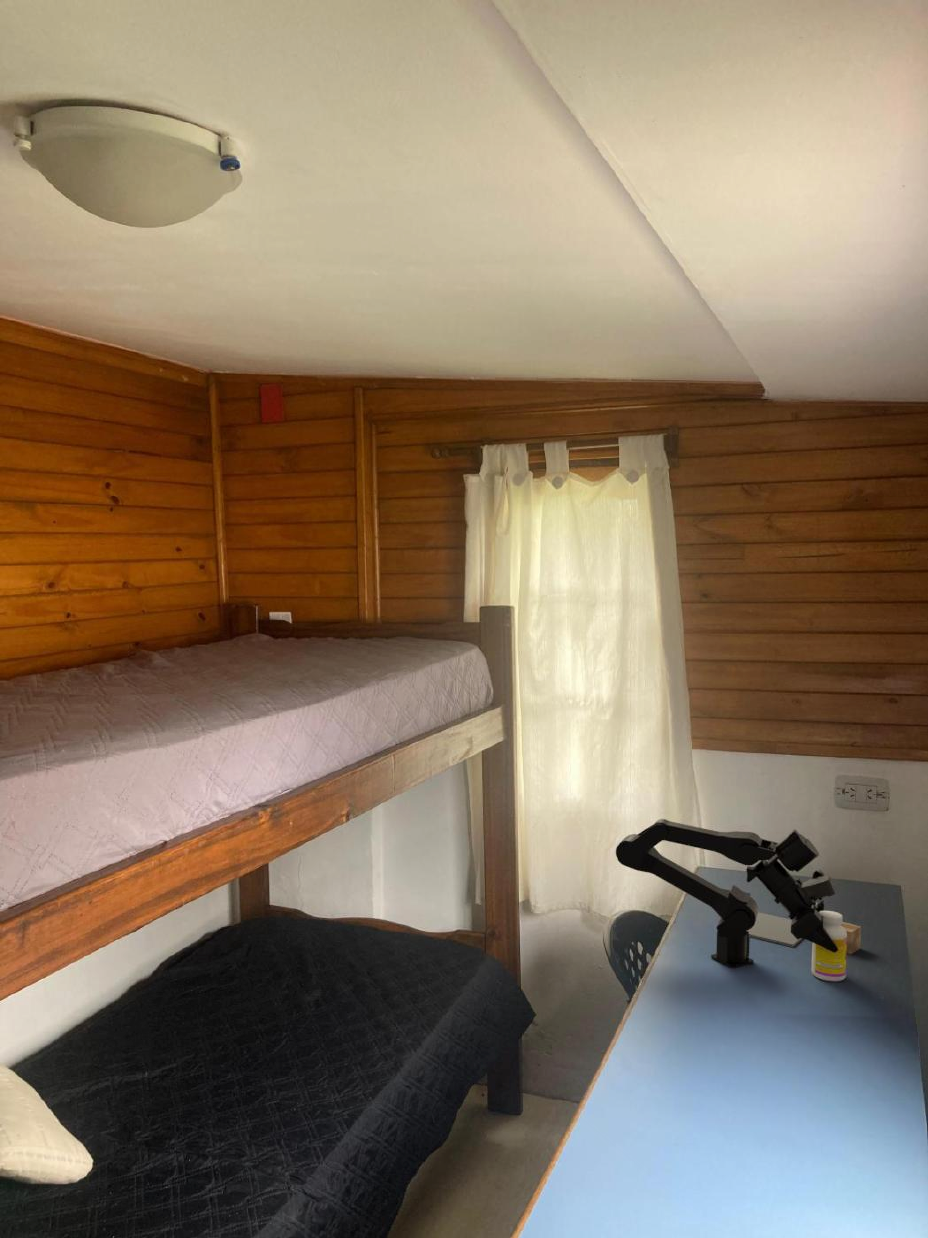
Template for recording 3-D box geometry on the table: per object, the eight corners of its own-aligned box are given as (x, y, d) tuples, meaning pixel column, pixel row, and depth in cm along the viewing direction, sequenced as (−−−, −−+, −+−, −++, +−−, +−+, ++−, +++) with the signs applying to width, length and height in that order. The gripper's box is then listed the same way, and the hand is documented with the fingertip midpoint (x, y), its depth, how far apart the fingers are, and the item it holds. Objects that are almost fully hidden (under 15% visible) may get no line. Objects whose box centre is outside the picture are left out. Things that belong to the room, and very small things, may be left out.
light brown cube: (850, 954, 207) (851, 932, 207) (828, 948, 210) (829, 926, 210) (860, 949, 210) (861, 926, 210) (838, 942, 214) (838, 921, 214)
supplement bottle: (850, 983, 191) (852, 920, 191) (817, 982, 191) (819, 919, 191) (838, 970, 198) (840, 909, 198) (806, 969, 198) (808, 908, 198)
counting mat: (793, 947, 210) (793, 944, 210) (723, 930, 220) (723, 928, 220) (814, 927, 223) (815, 925, 223) (748, 912, 233) (748, 910, 233)
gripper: (810, 873, 187) (869, 937, 183) (812, 850, 204) (866, 908, 200) (767, 907, 190) (824, 970, 186) (773, 881, 207) (825, 939, 203)
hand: (836, 945), depth 194 cm, fingers closed on supplement bottle, 7 cm apart
